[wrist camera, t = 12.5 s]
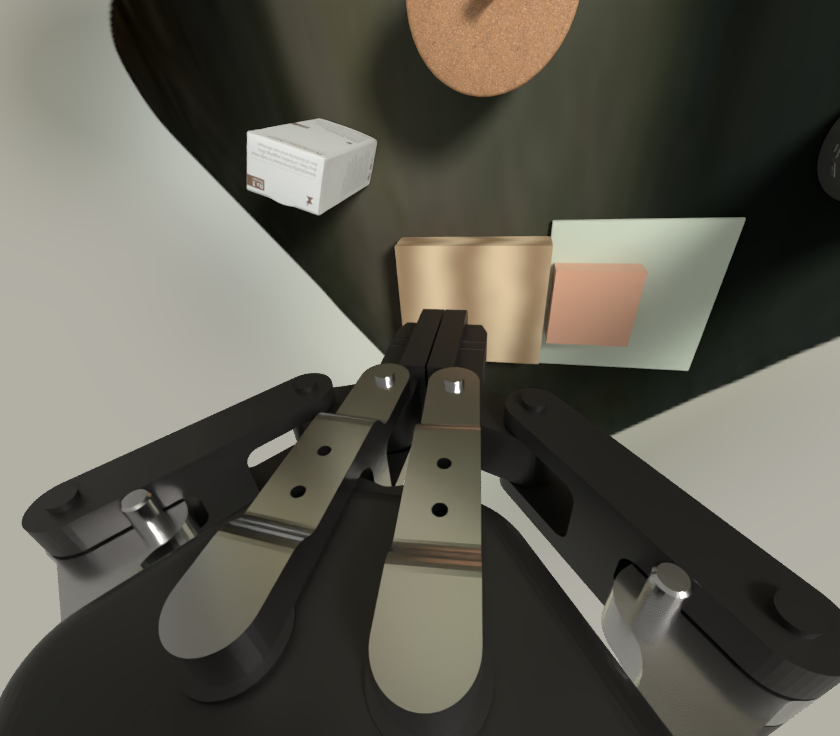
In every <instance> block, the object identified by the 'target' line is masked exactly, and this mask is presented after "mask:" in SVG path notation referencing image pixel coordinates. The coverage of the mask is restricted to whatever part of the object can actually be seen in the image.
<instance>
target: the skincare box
mask: <svg viewBox="0 0 840 736" xmlns="http://www.w3.org/2000/svg"><path fill="white" fill-rule="evenodd" d="M376 146H377V140H376V139H374V138H372V137H370V136H368V135H366V134H363V133H361V132H358V131H356V130H353V129H351V128H348V127H345V126H342V125H339V124H336V123H333V122H330V121H327V120H323V119H314V120H308V121H303V122H297V123H290V124H286V125H280V126H274V127H269V128H264V129H259V130H253V131H248V132H247V189H248V190H249V191H252V192H255V193H257V194H260V195H263V196H266V197H268V198H271V199H273V200H275V201H276V202H278V203H281V204H283V205H286V206H292V207H296V208H298V209H301V210H304V211H307V212H310V213H313V214H316V215H321V214H322V213H324V212H325V211H327V210H329V209H330V208H332V207H333V206H335V205H337V204H338V203H340V202H341V201H343V200H345V199H346V198H348V197H350V196H351V195H353V194H354V193H356V192H358V191H359V190H361V189H362V188H364V187H366V186H367V185H369V183H370V178H371V173H372V168H373V163H374V157H375V152H376Z"/></svg>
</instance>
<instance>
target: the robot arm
mask: <svg viewBox="0 0 840 736" xmlns="http://www.w3.org/2000/svg"><path fill="white" fill-rule="evenodd" d="M817 173H818V179H819V182H820V184H821V186H822V188H823V190H824V191H825V192H826V193H827V194H828V195H830V196H831V197H832V198H834V199H836V200H838V201H840V117H839V119H838V120H837V121H836V123H835V124H834V125H833V126H832V128H831V129H830V131H829V133H828V135H827V137H826V138H825V140H824V142H823V144H822V147H821V150H820V153H819V156H818V164H817ZM486 357H487V332H486V330H485V329H484V327H483V326H482V325H472V324H468V311H467V310H449V309H446V310H444V309H423V310H422V312H421V314H420V317H419V319H418V321H417V323H413V322H407V323H406V324H404V325H403V326H402V327H400V328H399V329H398V330H397V332H396V334H395V336H394V339H393V340H392V342H391V344H390V346H389V348H388V350H387V352H386V354H385V356H384V358H383V360H382V362H381V364H380V365H376V366H373V367H371V368H369V369H367V370H366V371H365V372H364V373H363V374H362V375H361V377H360V378H359V380H358V381H357V383H356V384H354V385H348V386H341V387H333V385H332V381H331V379H330V378H329V377H328V376H326V375H324V374H320V373H311V374H310V373H309V374H304V375H300V376H298V377H295V378H293V379H291V380H289V381H286V382H284V383H282V384H280V385H278V386H275V387H273V388H271V389H269V390H267V391H264V392H262V393H260V394H258V395H256V396H253V397H251V398H249V399H247V400H245V401H242V402H240V403H238V404H236V405H233V406H231V407H229V408H227V409H225V410H223V411H220V412H218V413H216V414H213V415H211V416H209V417H207V418H205V419H202V420H201V421H198V422H196V423H194V424H192V425H189V426H187V427H185V428H183V429H180V430H178V431H176V432H174V433H172V434H170V435H167V436H165V437H163V438H160V439H158V440H156V441H154V442H152V443H150V444H147V445H145V446H143V447H141V448H138V449H136V450H134V451H132V452H130V453H127V454H125V455H123V456H121V457H119V458H116V459H114V460H112V461H110V462H107V463H105V464H103V465H101V466H99V467H96V468H94V469H92V470H90V471H88V472H86V473H83V474H81V475H79V476H77V477H74V478H72V479H70V480H68V481H66V482H63V483H61V484H59V485H57V486H55V487H54V488H52V489H50V490H49V491H47V492H46V493H44V494H43V495H42V496H40V497H39V498H38V499H37V500H36V501H34V502H33V504H32V505H31V506H30V507H29V508H28V509H27V511H26V512H25V514H24V516H23V519H22V526H23V528H24V529H25V530H26V531H27V532H28V533H29V534H30V535H31V536H32V537H33V538H34V539H35V540H36V541H37V542H38V543H39V544H40V545H41V546H42V547H43V548H44V549H45V550H46V553H47V555H48V556H49V557H50V558H51V559H52V560H53V561H54V562H55V563H56V564H57V569H58V583H59V596H60V610H61V623H60V624H58V625H57V626H56V627H55V628H54V629H53V630H52V631H51V632H49V633H48V634H47V635H46V636H45V637H44V638H43V639H42V640H41V641H40V642H39V643H38V644H37V645H36V646H35V648H34V649H33V650H32V651H31V652H30V653H29V655H28V656H27V657H26V658H25V660H24V661H23V662H22V663H21V665H20V666H19V668H18V669H17V670H16V672H15V673H14V674H13V676H12V677H11V679H10V681H9V683H8V684H7V686H6V688H5V689H4V691H3V693H2V695H1V697H0V736H768V735H769V734H771V733H772V732H773V731H775V730H776V729H777V728H779V727H780V726H781V725H783V724H784V723H785V722H787V721H788V720H789V719H791V718H792V717H794V716H795V715H796V714H798V713H799V712H800V711H802V710H803V709H804V708H806V707H807V706H809V705H810V704H811V703H812V702H814V701H815V700H817V699H818V698H819V697H821V696H822V695H823V694H825V693H826V692H828V691H829V690H830V689H832V688H833V687H834V686H836V685H837V684H838V683H840V609H839V608H838V607H837V606H836V605H835V604H834V603H833V602H832V601H831V600H829V599H828V598H827V597H826V596H824V595H823V594H822V593H821V592H819V591H818V590H817V589H815V588H814V587H812V586H811V585H810V584H809V583H807V582H806V581H805V580H803V579H802V578H801V577H799V576H798V575H796V574H795V573H794V572H792V571H791V570H790V569H788V568H787V567H786V566H784V565H783V564H782V563H780V562H779V561H778V560H776V559H775V558H773V557H772V556H771V555H770V554H768V553H767V552H765V551H764V550H763V549H762V548H760V547H759V546H757V545H756V544H755V543H753V542H752V541H751V540H749V539H748V538H747V537H745V536H744V535H743V534H741V533H740V532H739V531H737V530H736V529H735V528H733V527H732V526H730V525H729V524H728V523H727V522H725V521H724V520H722V519H721V518H720V517H718V516H717V515H715V514H714V513H713V512H712V511H710V510H709V509H708V508H706V507H705V506H704V505H702V504H701V503H700V502H698V501H697V500H696V499H694V498H693V497H692V496H690V495H689V494H687V493H686V492H685V491H683V490H682V489H681V488H679V487H678V486H677V485H675V484H674V483H673V482H671V481H670V480H669V479H667V478H666V477H665V476H663V475H662V474H661V473H659V472H658V471H657V470H655V469H654V468H653V467H651V466H650V465H649V464H647V463H646V462H644V461H643V460H642V459H640V458H639V457H638V456H636V455H635V454H634V453H632V452H631V451H630V450H628V449H627V448H626V447H624V446H623V445H621V444H620V443H619V442H618V441H616V440H615V439H613V438H612V437H611V436H609V435H608V434H607V433H605V432H604V431H603V430H601V429H600V428H599V427H597V426H596V425H595V424H593V423H592V422H591V421H589V420H588V419H587V418H585V417H584V416H583V415H581V414H580V413H579V412H577V411H576V410H575V409H573V408H572V407H570V406H569V405H568V404H566V403H565V402H564V401H562V400H561V399H560V398H558V397H557V396H556V395H554V394H553V393H551V392H549V391H546V390H543V389H538V388H522V389H518V390H515V391H513V392H512V393H510V394H509V395H508V396H507V397H505V396H502V395H499V394H496V393H494V392H492V391H491V390H489V389H488V388H487V387H486V386H485V375H486ZM292 429H293V431H294V434H295V437H296V440H297V443H296V444H295V445H293V446H291V447H289V448H288V449H286V450H284V451H282V452H280V453H279V454H277V455H275V456H273V457H271V458H269V459H267V460H266V461H264V462H262V463H260V464H258V465H256V466H254V467H250V468H249V467H248V464H247V459H248V457H249V455H250V454H251V452H252V451H254V450H255V449H256V448H258V447H260V446H262V445H264V444H266V443H267V442H269V441H271V440H273V439H275V438H277V437H279V436H281V435H283V434H285V433H287V432H288V431H290V430H292ZM481 470H483V471H485V472H488V473H490V474H493V475H495V476H498V477H500V483H501V485H502V487H503V489H504V490H505V491H506V492H507V494H508V495H509V496H510V497H511V498H512V499H513V501H514V502H515V503H516V504H517V505H518V506H519V507H520V508H521V510H522V511H523V512H524V513H525V514H526V516H527V517H528V518H529V519H530V520H531V521H532V523H533V524H534V525H535V526H536V527H537V528H538V530H539V531H540V532H541V533H542V534H543V535H544V536H545V538H546V539H547V540H548V541H549V542H550V543H551V545H552V546H553V547H554V548H555V549H556V550H557V552H558V553H559V554H560V555H561V556H562V557H563V559H564V560H565V561H566V562H567V563H568V564H569V565H570V567H571V568H572V569H573V570H574V571H575V572H576V573H577V575H578V576H579V577H580V578H581V579H582V581H583V582H584V583H585V584H586V585H587V586H588V587H589V589H590V590H591V591H592V592H593V593H594V594H595V596H596V597H597V598H598V599H599V600H600V601H601V603H602V604H603V605H604V609H603V612H602V628H603V632H604V635H605V638H606V640H607V642H608V644H609V646H610V647H611V649H612V650H613V652H614V653H615V655H616V657H617V658H618V660H619V662H620V664H621V666H622V667H621V666H620V665H619V663H618V662H617V661H616V659H615V658H614V657H613V655H612V654H611V653H610V651H609V650H608V649H607V648H606V646H605V645H604V643H603V642H602V641H601V639H600V638H599V637H598V635H597V634H596V633H595V631H594V630H593V629H592V628H591V626H590V625H589V624H588V622H587V621H586V620H585V618H584V617H583V616H582V614H581V613H580V612H579V610H578V609H577V608H576V606H575V605H574V604H573V602H572V601H571V600H570V598H569V597H568V596H567V594H566V593H565V592H564V590H563V589H562V588H561V587H560V585H559V584H558V583H557V581H556V580H555V579H554V577H553V576H552V575H551V573H550V572H549V571H548V569H547V568H546V567H545V565H544V564H543V563H542V561H541V560H540V559H539V557H538V556H537V555H536V554H535V552H534V551H533V550H532V548H531V547H530V546H529V544H528V543H527V542H526V540H525V539H524V538H523V536H522V535H521V534H520V533H519V531H518V530H517V529H516V528H515V527H514V526H513V525H512V524H511V523H510V522H508V521H507V520H506V519H505V518H504V517H502V516H501V515H500V514H498V513H497V512H495V511H494V510H492V509H490V508H488V507H486V506H484V505H482V504H481ZM404 480H405V482H404ZM403 482H404V485H403Z"/></svg>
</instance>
